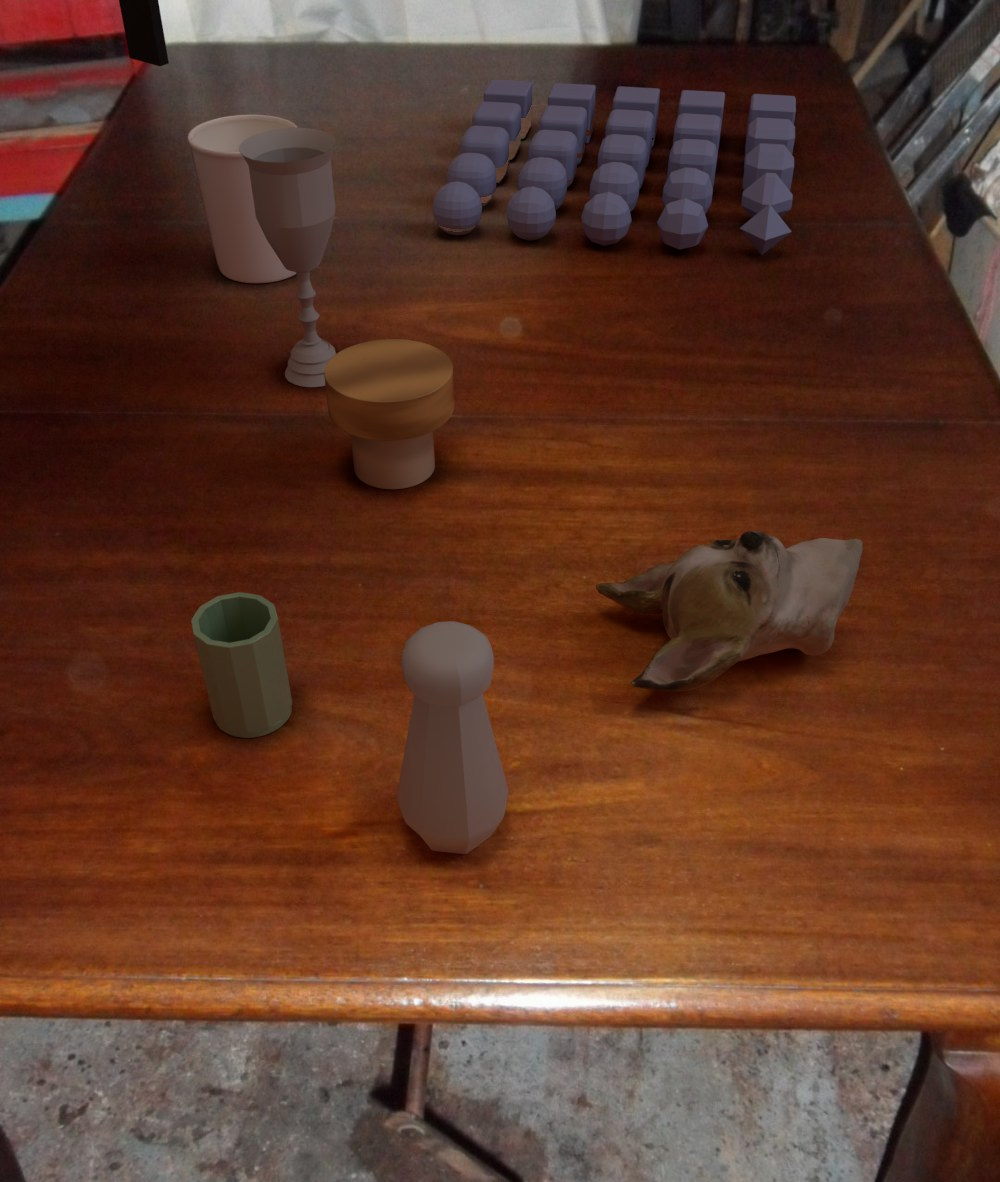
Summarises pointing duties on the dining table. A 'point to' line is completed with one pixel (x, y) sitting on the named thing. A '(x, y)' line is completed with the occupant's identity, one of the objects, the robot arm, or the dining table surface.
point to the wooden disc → (389, 389)
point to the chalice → (296, 224)
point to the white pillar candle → (394, 461)
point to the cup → (243, 664)
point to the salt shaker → (450, 740)
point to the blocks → (620, 163)
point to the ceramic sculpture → (739, 604)
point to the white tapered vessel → (234, 197)
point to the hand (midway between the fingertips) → (63, 90)
